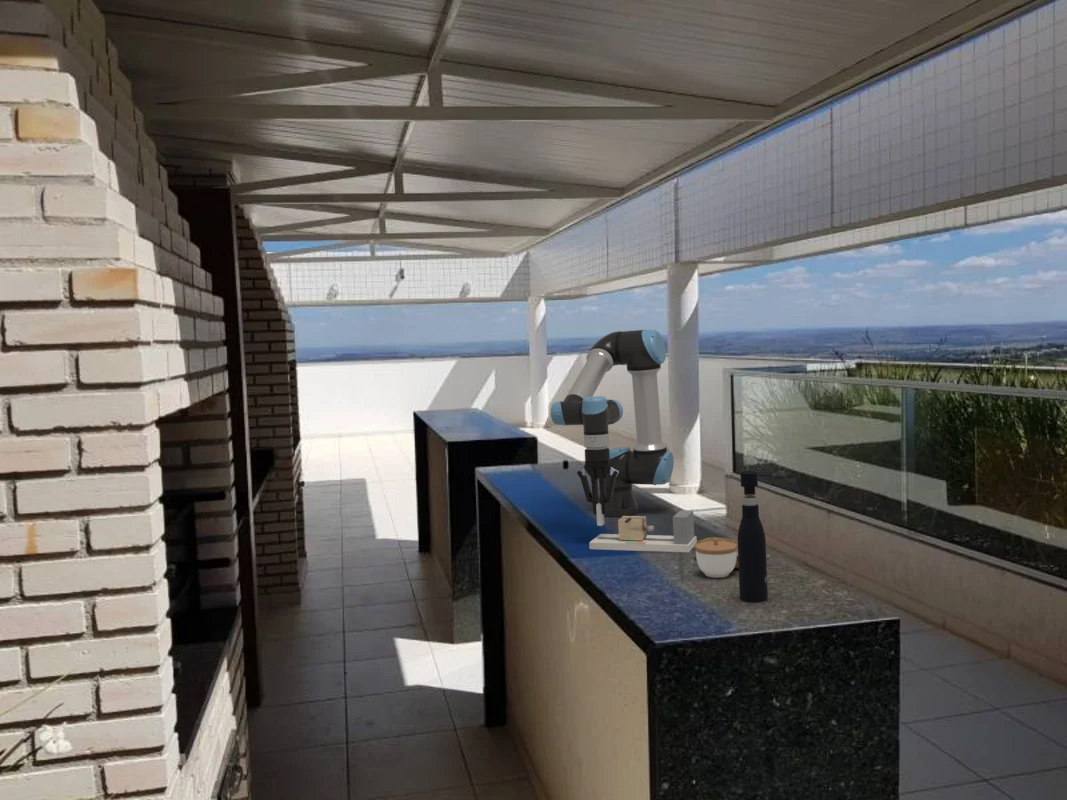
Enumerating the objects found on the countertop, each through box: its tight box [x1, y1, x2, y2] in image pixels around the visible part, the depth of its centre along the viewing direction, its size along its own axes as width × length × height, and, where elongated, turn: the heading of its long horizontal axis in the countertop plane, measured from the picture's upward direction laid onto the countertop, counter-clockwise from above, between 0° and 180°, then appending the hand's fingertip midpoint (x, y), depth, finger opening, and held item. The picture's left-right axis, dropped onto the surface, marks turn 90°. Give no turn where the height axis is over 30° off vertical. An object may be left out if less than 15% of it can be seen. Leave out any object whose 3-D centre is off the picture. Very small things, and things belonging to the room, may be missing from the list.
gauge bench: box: [588, 510, 698, 553], centre depth 278 cm, size 12×30×10 cm, turn 69°
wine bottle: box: [736, 470, 769, 603], centre depth 218 cm, size 6×6×30 cm
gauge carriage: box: [617, 515, 655, 540], centre depth 277 cm, size 10×10×7 cm
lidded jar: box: [694, 539, 737, 579], centre depth 241 cm, size 11×11×9 cm
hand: (600, 524), depth 283 cm, fingers closed
